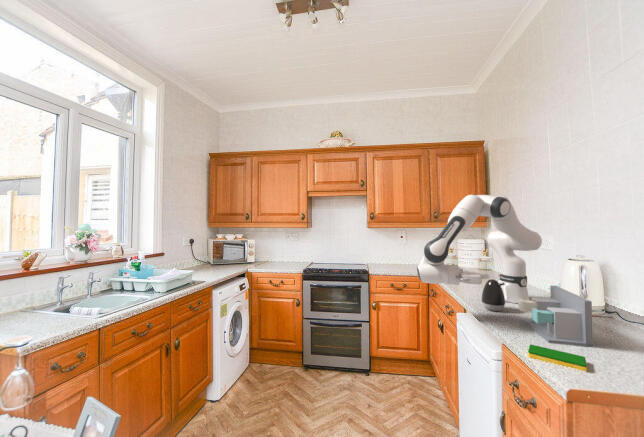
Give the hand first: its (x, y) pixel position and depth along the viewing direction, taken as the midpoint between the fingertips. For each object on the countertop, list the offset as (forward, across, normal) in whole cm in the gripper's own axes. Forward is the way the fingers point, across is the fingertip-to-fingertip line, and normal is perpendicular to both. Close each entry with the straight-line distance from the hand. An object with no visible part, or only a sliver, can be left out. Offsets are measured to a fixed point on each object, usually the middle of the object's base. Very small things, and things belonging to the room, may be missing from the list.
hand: (487, 276), depth 122 cm
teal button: (+16, -14, +14) cm, 26 cm away
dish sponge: (+11, -33, +21) cm, 40 cm away
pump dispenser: (+7, +18, +20) cm, 28 cm away
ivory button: (+16, 0, +14) cm, 22 cm away
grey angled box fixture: (+21, -7, +20) cm, 30 cm away
